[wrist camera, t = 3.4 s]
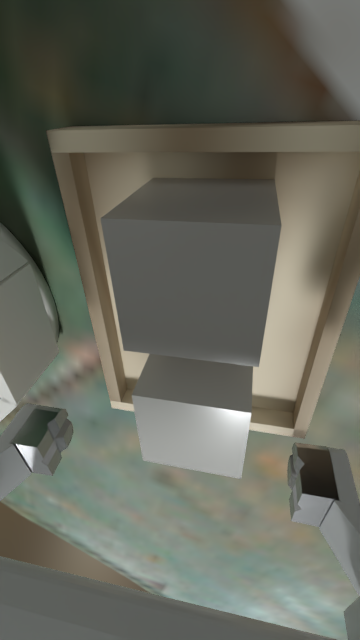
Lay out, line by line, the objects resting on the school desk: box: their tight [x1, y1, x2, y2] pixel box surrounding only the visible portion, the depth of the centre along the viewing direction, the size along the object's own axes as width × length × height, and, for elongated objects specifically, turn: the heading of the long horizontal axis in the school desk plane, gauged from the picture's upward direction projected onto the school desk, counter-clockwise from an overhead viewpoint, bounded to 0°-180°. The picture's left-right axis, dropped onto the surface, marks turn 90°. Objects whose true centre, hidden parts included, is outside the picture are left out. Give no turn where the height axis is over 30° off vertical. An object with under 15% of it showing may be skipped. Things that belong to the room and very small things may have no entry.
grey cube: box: [132, 354, 253, 479], centre depth 13 cm, size 4×4×4 cm
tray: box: [46, 121, 360, 439], centre depth 13 cm, size 10×13×2 cm
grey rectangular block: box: [100, 178, 282, 367], centre depth 10 cm, size 4×4×4 cm
